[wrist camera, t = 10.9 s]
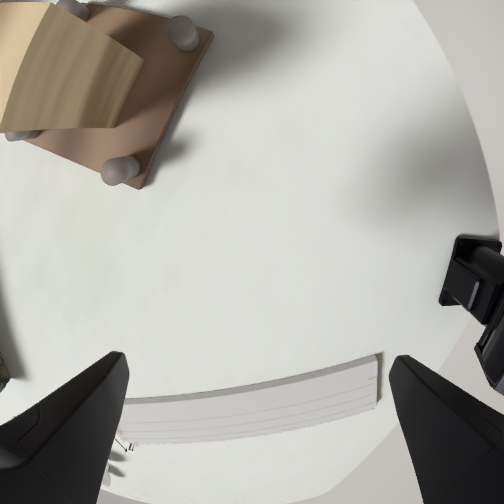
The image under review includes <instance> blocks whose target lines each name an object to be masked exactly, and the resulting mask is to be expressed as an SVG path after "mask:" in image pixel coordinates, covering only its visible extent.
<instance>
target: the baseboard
mask: <svg viewBox="0 0 504 504" xmlns="http://www.w3.org/2000/svg"><path fill="white" fill-rule="evenodd" d="M377 373H378V360H377V358H376V356H375V354H374V355H370V356H367V357H364V358H361V359H357V360H354V361H350V362H347V363H343V364H340V365H336V366H333V367H329V368H325V369H321V370H317V371H313V372H309V373H305V374H301V375H296V376H292V377H287V378H283V379H278V380H273V381H268V382H263V383H258V384H252V385H246V386H241V387H235V388H228V389H222V390H215V391H207V392H200V393H191V394H182V395H172V396H161V397H148V398H130V399H125V400H124V405H123V410H122V415H121V418H120V422H119V425H118V428H117V431H116V433H117V435H118V436H119V437H120V439H121V440H122V441H123V442H128V443H129V444H130V446H129V450H130V448H131V445H132V444H179V443H199V442H212V441H223V440H232V439H241V438H248V437H255V436H262V435H268V434H274V433H280V432H285V431H291V430H296V429H300V428H305V427H310V426H314V425H318V424H322V423H326V422H330V421H334V420H338V419H342V418H345V417H349V416H352V415H356V414H359V413H362V412H366V411H369V410H372V409H375V406H376V404H377V402H376V398H377ZM115 440H116V439H115ZM116 441H117V440H116ZM117 442H118V441H117ZM118 443H119V442H118ZM119 444H120V443H119ZM120 445H121V444H120ZM121 446H122V445H121ZM122 447H123V446H122ZM133 447H134V445H133ZM123 448H124V447H123ZM124 449H125V448H124ZM126 451H127V449H125V452H126ZM132 451H133V448H132Z"/></svg>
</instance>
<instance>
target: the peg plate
mask: <svg viewBox="0 0 504 504" xmlns="http://www.w3.org/2000/svg"><path fill="white" fill-rule="evenodd" d="M56 5H57V6H58V7H60V8H62V9H64V10H66V11H67V12H69V13H71V14H73V15H74V16H76V17H78V18H80V19H81V20H83V21H85V22H86V23H88V24H90V25H91V26H93V27H95V28H96V29H98V30H100V31H101V32H103V33H104V34H106V35H108V36H109V37H111V38H112V39H114V40H115V41H117V42H118V43H120V44H121V45H123V46H125V47H126V48H128V49H129V50H131V51H132V52H134V53H135V54H136V55H138V56H139V57H141V58H142V59H144V60H145V61H144V63H143V65H142V67H141V69H140V71H139V73H138V75H137V77H136V80H135V82H134V84H133V86H132V88H131V90H130V92H129V95H128V97H127V99H126V101H125V104H124V106H123V108H122V111H121V113H120V115H119V118H118V120H117V123H116V125H115V128H67V129H43V130H28V131H16V132H6V133H5V137H6V139H7V140H8V141H18V140H24V141H26V142H29V143H31V144H33V145H36V146H38V147H40V148H43V149H45V150H47V151H50V152H52V153H54V154H57V155H59V156H61V157H64V158H66V159H68V160H71V161H73V162H75V163H78V164H80V165H82V166H85V167H87V168H89V169H92V170H94V171H96V172H99V173H101V177H102V179H103V181H104V182H105V183H106V184H108V185H111V186H115V185H118V184H120V183H124V184H126V185H129V186H131V187H133V188H135V189H138V190H140V189H142V188H143V186H144V183H145V180H146V178H147V175H148V173H149V170H150V167H151V165H152V162H153V160H154V157H155V155H156V153H157V150H158V148H159V145H160V143H161V141H162V138H163V136H164V134H165V131H166V129H167V127H168V125H169V122H170V120H171V118H172V116H173V114H174V112H175V109H176V107H177V105H178V103H179V101H180V99H181V97H182V95H183V93H184V91H185V89H186V87H187V85H188V83H189V81H190V79H191V77H192V75H193V73H194V71H195V69H196V67H197V66H198V64H199V62H200V60H201V58H202V56H203V55H204V53H205V51H206V49H207V47H208V46H209V44H210V42H211V40H212V39H213V37H214V34H213V32H212V31H209V30H205V29H202V28H199V27H196V26H194V25H193V23H192V21H191V19H190V18H188V17H186V16H176V17H174V18H172V19H168V18H164V17H160V16H156V15H152V14H147V13H143V12H138V11H133V10H128V9H122V8H116V7H110V6H103V5H96V4H88V3H79V2H78V1H76V0H59V1H58V2H57V4H56Z"/></svg>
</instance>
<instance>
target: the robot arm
mask: <svg viewBox="0 0 504 504" xmlns="http://www.w3.org/2000/svg"><path fill="white" fill-rule="evenodd" d="M460 241H461V243H460ZM459 243H460V244H459ZM501 248H502V243H501V242H500V241H498V240H491V239H482V238H473V237H463V236H459V237H457V238H456V240H455V244H454V248H453V252H452V256H451V260H450V263H449V267H448V271H447V274H446V278H445V281H444V284H443V288H442V291H441V294H440V297H439V303H440V304H441V305H442V306H453V305H462V306H463V307H464V308H465V309H466V310H467V311H469V312H470V313H471V314H472V315H473V316H474V317H475V318H476V319H477V320H478V321H479V322H480V323H481V324H482V325H484V326H485V327H486V328H485V330H484V332H483V334H482V336H481V338H480V340H479V342H478V343H476V345H475V347H474V350H475V352H476V354H477V357H478V359H479V361H480V364H481V366H482V369H483V371H484V373H485V376H486V378H487V380H488V382H489V384H490V386H491V387H492V388H493V389H494V390H496V391H497V392H499V393H500V394H502V395H504V256H503V255H501V254H500V252H501ZM444 299H445V300H444ZM443 300H444V301H443ZM128 381H129V368H128V364H127V360H126V357H125V354H124V353H123V352H117V351H111V352H110V353H108V354H107V355H105V356H104V357H103V358H101V359H100V360H98V361H97V362H95V363H94V364H93V365H91V366H90V367H88V368H87V369H85V370H84V371H83V372H81V373H80V374H78V375H77V376H75V377H74V378H72V379H71V380H70V381H68V382H67V383H65V384H64V385H62V386H61V387H60V388H58V389H57V390H55V391H54V392H52V393H51V394H49V395H48V396H47V397H45V398H44V399H42V400H41V401H40V402H39V403H36V404H35V405H34V406H32V407H31V408H29V409H28V410H26V411H25V412H23V413H22V414H20V415H18V416H17V417H15V418H13V419H11V420H10V421H8V422H6V423H4V424H2V425H1V426H0V504H96V502H97V498H98V494H99V490H100V487H101V483H102V479H103V476H104V472H105V468H106V465H107V461H108V458H109V454H110V451H111V448H112V444H113V441H114V438H115V434H116V431H117V428H118V425H119V422H120V418H121V415H122V410H123V405H124V400H125V395H126V390H127V385H128ZM389 382H390V386H391V390H392V394H393V399H394V403H395V407H396V412H397V415H398V419H399V422H400V425H401V428H402V431H403V433H404V437H405V440H406V443H407V446H408V450H409V453H410V456H411V459H412V463H413V466H414V469H415V473H416V476H417V480H418V483H419V487H420V491H421V495H422V499H423V503H424V504H504V415H503V414H501V413H499V412H497V411H496V410H494V409H492V408H491V407H489V406H487V405H486V404H484V403H483V402H481V401H479V400H478V399H476V398H475V397H473V396H472V395H470V394H469V393H467V392H465V391H463V390H462V389H461V388H459V387H458V386H456V385H454V384H453V383H451V382H450V381H448V380H447V379H445V378H443V377H442V376H440V375H439V374H437V373H436V372H434V371H432V370H431V369H429V368H428V367H426V366H425V365H423V364H421V363H420V362H418V361H417V360H415V359H414V358H412V357H410V356H409V355H399V356H397V357H396V358H395V360H394V363H393V365H392V368H391V370H390V373H389Z"/></svg>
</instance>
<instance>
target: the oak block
mask: <svg viewBox="0 0 504 504" xmlns="http://www.w3.org/2000/svg"><path fill="white" fill-rule="evenodd" d="M144 61H145V60H144V59H142V58H141V57H139V56H138V55H136V54H135V53H134V52H132V51H131V50H129V49H128V48H126V47H125V46H123V45H121V44H120V43H118V42H117V41H115V40H114V39H112V38H111V37H109V36H108V35H106V34H104V33H103V32H101V31H100V30H98V29H96V28H95V27H93V26H91V25H90V24H88V23H86V22H85V21H83V20H81V19H80V18H78V17H76V16H74V15H73V14H71V13H69V12H67V11H66V10H64V9H62V8H60V7H58V6H57V5H55V4H53V3H50V2H6V3H0V133H6V132H16V131H28V130H43V129H67V128H115V125H116V123H117V120H118V118H119V115H120V113H121V111H122V108H123V106H124V104H125V101H126V99H127V97H128V95H129V92H130V90H131V88H132V86H133V84H134V82H135V80H136V77H137V75H138V73H139V71H140V69H141V67H142V65H143V63H144Z"/></svg>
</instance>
